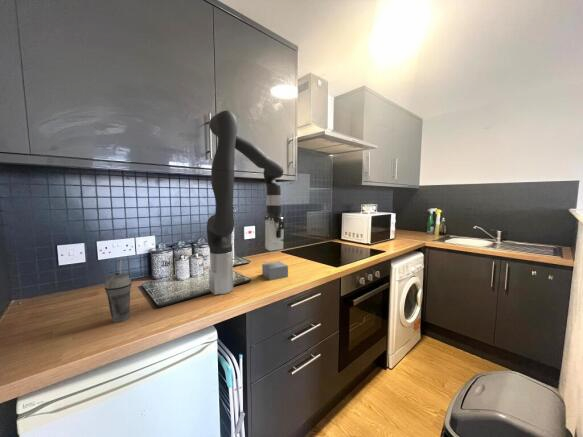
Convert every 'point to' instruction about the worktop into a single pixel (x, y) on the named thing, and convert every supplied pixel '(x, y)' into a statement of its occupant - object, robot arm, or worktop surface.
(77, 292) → the worktop surface
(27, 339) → the worktop surface
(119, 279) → the beverage cup
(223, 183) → the robot arm
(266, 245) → the skincare box
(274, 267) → the charcoal block
